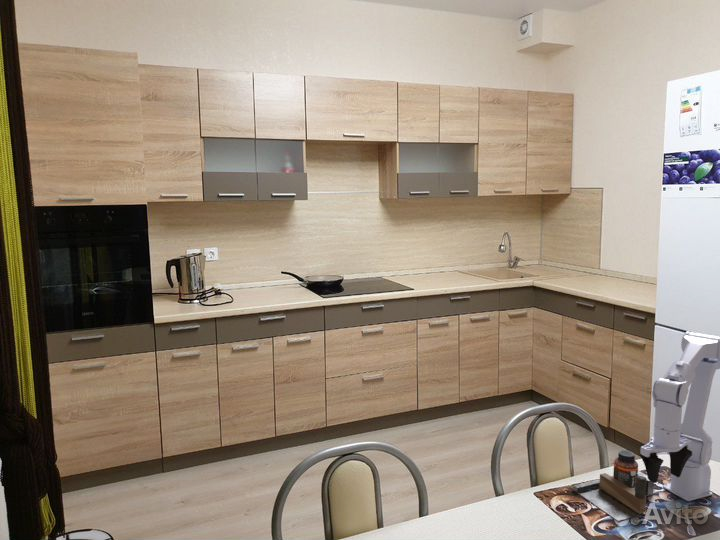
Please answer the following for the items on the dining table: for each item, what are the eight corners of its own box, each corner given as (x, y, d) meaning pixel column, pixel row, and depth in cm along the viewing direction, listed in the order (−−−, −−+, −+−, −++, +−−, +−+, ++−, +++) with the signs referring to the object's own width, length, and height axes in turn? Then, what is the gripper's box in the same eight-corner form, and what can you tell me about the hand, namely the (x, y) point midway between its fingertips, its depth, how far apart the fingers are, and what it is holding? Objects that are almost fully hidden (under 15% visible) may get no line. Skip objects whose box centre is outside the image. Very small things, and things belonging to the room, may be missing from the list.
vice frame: (624, 477, 157) (625, 463, 157) (672, 506, 143) (673, 490, 142) (573, 490, 151) (573, 475, 150) (618, 521, 136) (619, 504, 136)
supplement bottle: (639, 498, 146) (641, 459, 145) (615, 496, 148) (617, 457, 146) (633, 487, 152) (635, 449, 151) (610, 485, 153) (612, 447, 152)
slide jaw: (605, 486, 152) (607, 455, 151) (646, 512, 139) (648, 479, 138) (598, 487, 151) (600, 457, 150) (639, 514, 138) (641, 481, 137)
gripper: (675, 416, 141) (671, 465, 143) (631, 424, 137) (628, 475, 138) (700, 427, 135) (696, 478, 137) (655, 436, 130) (652, 489, 132)
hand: (663, 478), depth 137 cm, fingers open, 7 cm apart
